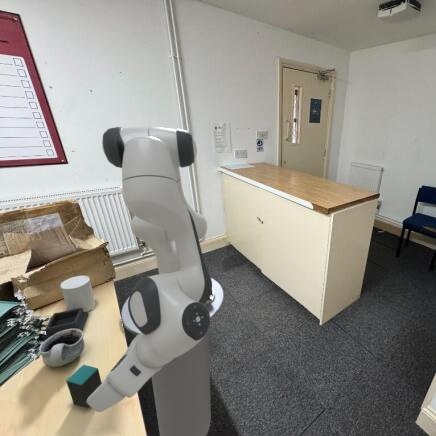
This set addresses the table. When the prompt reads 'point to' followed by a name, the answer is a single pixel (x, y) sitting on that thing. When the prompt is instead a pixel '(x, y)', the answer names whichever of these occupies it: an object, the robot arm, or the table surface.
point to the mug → (62, 347)
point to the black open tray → (66, 322)
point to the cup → (78, 293)
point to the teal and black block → (83, 384)
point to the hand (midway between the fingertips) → (120, 369)
